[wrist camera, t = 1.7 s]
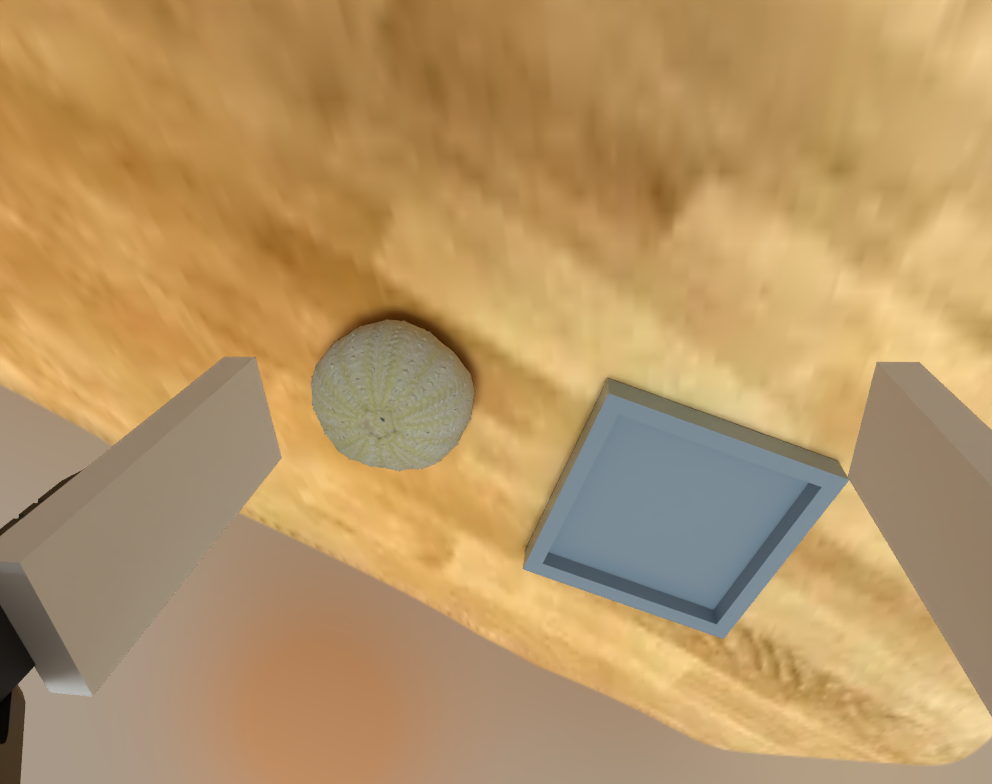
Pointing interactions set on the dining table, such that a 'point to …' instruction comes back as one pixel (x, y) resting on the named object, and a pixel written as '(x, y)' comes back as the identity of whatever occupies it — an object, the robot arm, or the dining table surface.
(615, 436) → the tray
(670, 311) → the dining table surface
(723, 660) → the dining table surface
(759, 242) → the dining table surface
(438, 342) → the sea urchin shell
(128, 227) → the dining table surface
